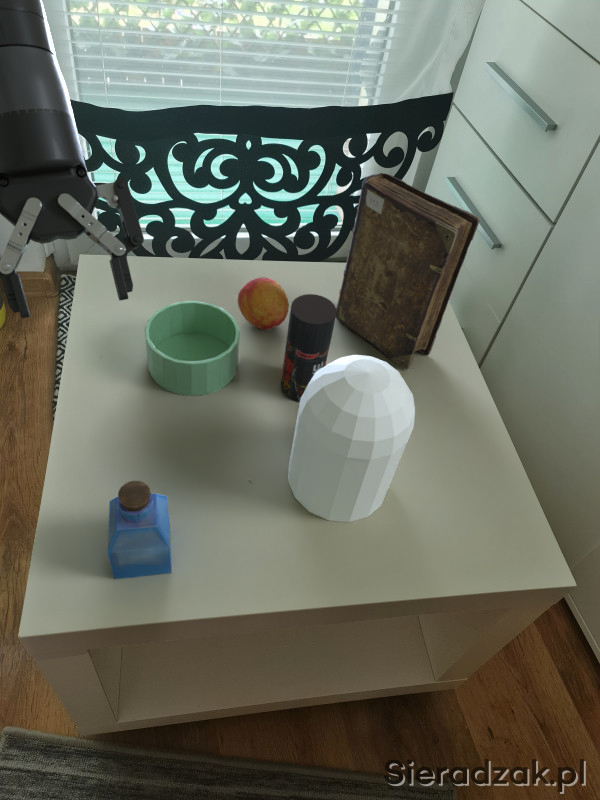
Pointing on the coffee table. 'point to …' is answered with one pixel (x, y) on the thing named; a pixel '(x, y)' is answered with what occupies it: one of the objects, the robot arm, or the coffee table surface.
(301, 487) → the white dome-topped cylinder
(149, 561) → the perfume bottle
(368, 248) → the book
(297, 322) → the deodorant
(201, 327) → the green bowl
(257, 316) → the fruit
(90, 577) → the coffee table surface
